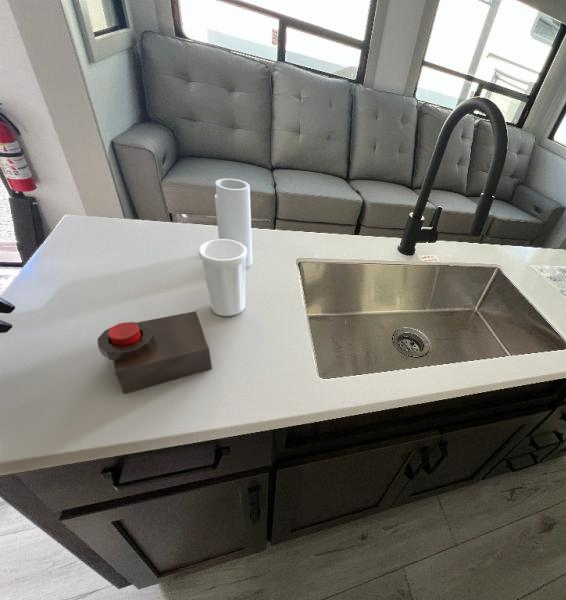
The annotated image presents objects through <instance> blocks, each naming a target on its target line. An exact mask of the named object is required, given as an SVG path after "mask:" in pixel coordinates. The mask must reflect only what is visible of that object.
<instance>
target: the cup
mask: <svg viewBox="0 0 566 600" xmlns="http://www.w3.org/2000/svg"><path fill="white" fill-rule="evenodd" d="M198 256H199V258H200V260H201V261H202V266H203V270H204V271H203V272H204V275H205V281H206V286H207V290H208V296H209V301H210V306H211V310H212V311H213V313H214V314H215V315H219V316H220V317H221V316H222V317H232V316H235V315H239V314H240V313H241V312H243V311H244V310H245V308H246V268H245V259H246V257H247V250H246V247H245V246H244V245H243V244H241V243H239V242H237V241H234V240H229V239H219V238H215V239H211V240H207V241H205V242H203V243H201V245H200V246H199V247H198Z"/></svg>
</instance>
